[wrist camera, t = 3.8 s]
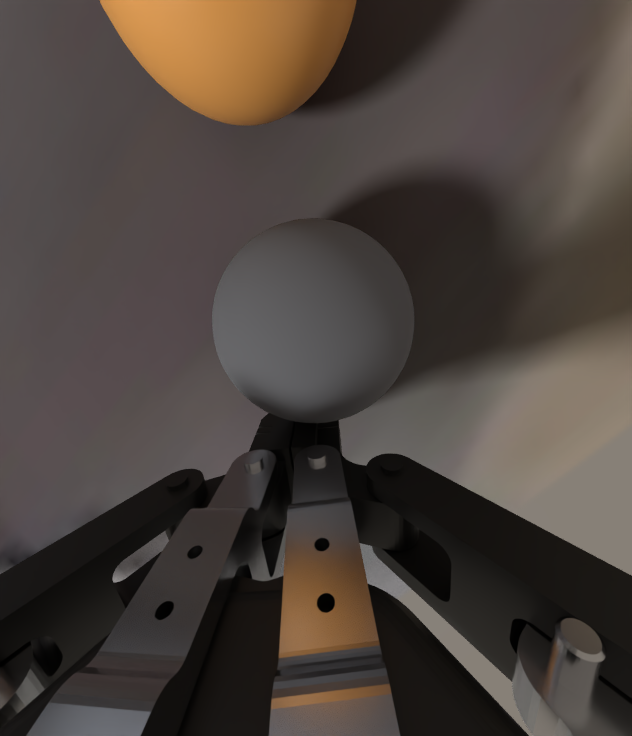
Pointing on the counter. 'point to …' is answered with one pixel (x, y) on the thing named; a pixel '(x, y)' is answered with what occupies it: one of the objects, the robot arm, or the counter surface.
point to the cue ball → (313, 320)
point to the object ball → (235, 51)
